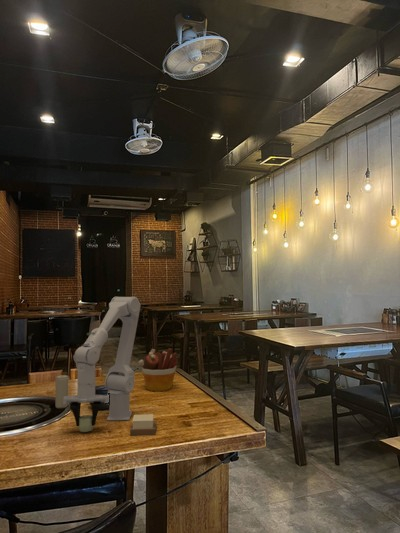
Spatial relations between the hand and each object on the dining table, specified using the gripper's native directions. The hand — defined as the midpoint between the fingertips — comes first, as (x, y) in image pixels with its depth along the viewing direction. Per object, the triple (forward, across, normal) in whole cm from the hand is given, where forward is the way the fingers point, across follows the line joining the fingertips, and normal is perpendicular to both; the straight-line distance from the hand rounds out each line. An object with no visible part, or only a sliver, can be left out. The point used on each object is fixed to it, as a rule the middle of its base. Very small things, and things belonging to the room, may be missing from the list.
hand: (86, 425), depth 130 cm
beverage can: (+2, -16, +29) cm, 33 cm away
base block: (+3, +19, -1) cm, 19 cm away
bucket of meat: (+3, +22, +54) cm, 58 cm away
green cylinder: (+1, 0, 0) cm, 1 cm away
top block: (0, +19, -1) cm, 19 cm away
